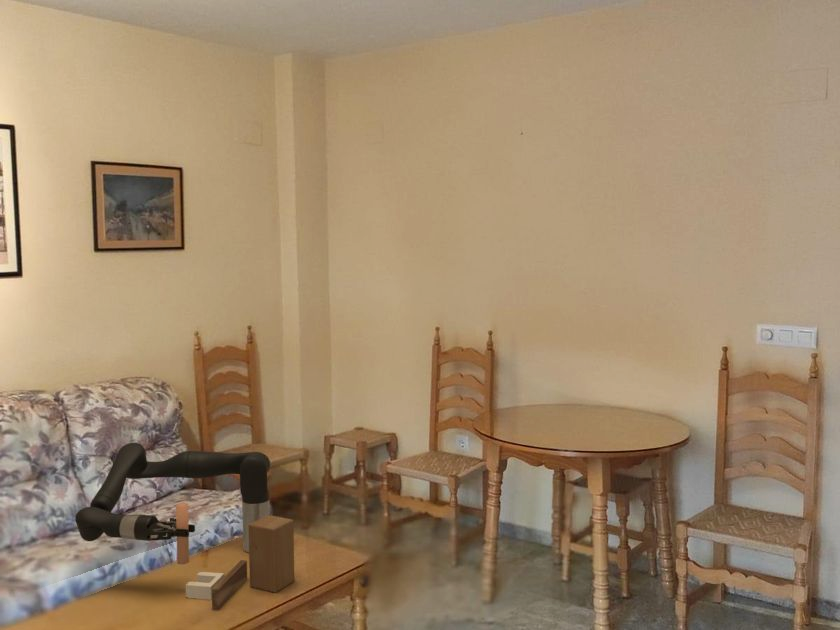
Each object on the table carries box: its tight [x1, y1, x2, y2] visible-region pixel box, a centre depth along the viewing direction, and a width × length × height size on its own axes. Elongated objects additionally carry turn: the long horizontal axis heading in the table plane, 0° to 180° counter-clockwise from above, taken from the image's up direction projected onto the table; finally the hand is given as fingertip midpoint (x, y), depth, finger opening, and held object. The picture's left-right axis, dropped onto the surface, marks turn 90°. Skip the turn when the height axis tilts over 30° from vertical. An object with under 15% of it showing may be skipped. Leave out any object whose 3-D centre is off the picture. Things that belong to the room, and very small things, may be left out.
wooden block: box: [248, 514, 295, 593], centre depth 254 cm, size 10×10×20 cm
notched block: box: [185, 571, 225, 601], centre depth 250 cm, size 8×10×4 cm
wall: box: [211, 559, 248, 611], centre depth 248 cm, size 2×22×6 cm, turn 170°
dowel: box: [175, 502, 190, 565], centre depth 249 cm, size 4×4×18 cm
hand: (191, 530), depth 249 cm, fingers closed on dowel, 3 cm apart
